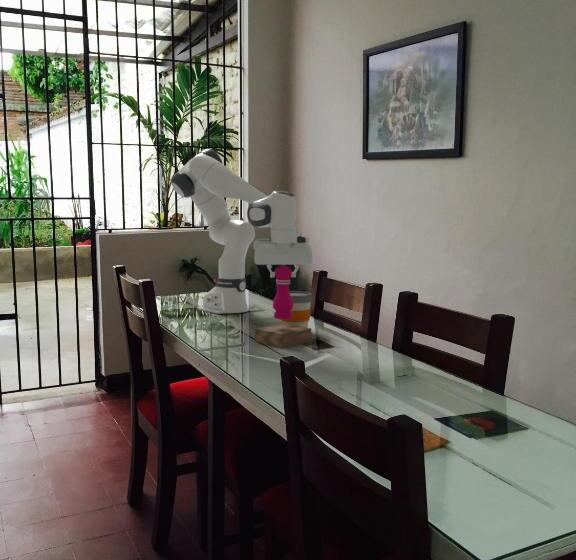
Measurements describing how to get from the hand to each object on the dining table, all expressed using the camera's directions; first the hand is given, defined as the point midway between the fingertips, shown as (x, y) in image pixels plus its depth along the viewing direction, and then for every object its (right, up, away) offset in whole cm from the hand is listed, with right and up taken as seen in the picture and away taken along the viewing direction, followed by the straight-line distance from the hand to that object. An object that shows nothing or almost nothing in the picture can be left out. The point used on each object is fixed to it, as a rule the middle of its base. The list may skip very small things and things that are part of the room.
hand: (283, 277), depth 226 cm
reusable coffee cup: (+4, -21, +18) cm, 28 cm away
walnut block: (0, -23, +3) cm, 23 cm away
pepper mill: (0, -14, +2) cm, 14 cm away
